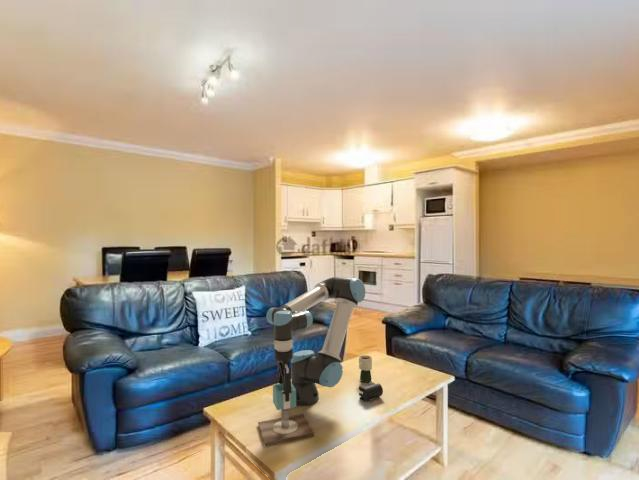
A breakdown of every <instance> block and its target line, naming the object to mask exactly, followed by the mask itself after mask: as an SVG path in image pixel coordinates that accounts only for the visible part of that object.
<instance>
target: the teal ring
mask: <svg viewBox="0 0 639 480" xmlns="http://www.w3.org/2000/svg"><path fill="white" fill-rule="evenodd" d="M291 391H292V393H290V408H289V409H291V408H296V407H297V405H296V389H295V387H294V386H293V384H292V383H291ZM282 392H284V388H283V383H282V384H280V383H277V384H275V383H274V384H272V402H273V405H274V407H275V409H276V411H279V410H280V411H281V410H282V409H283V394H282Z"/></svg>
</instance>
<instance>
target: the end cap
mask: <svg viewBox="0 0 639 480" xmlns="http://www.w3.org/2000/svg"><path fill="white" fill-rule="evenodd" d="M367 385H368V386H367ZM367 385H365V384H362V385H359V386H358V390H359V391H360V392H358V396H359V399H360V400H361V401H362V402H365V403H366V402H369V401H371V400H374V399H377V398H380V397H381V396H383V393H384V389H383V386H382V385H381V383H375V382H372V381H370V382H367Z"/></svg>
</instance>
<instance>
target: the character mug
mask: <svg viewBox="0 0 639 480" xmlns="http://www.w3.org/2000/svg"><path fill="white" fill-rule="evenodd" d="M358 364H359V365H358V368H359V370H360V375H359V380H360V381H361V382H367V383H370V382H372V374H371V370H372V369H373V358H372V356H371V355H366V354H364V355H360V356H359V357H358Z"/></svg>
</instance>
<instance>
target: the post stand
mask: <svg viewBox="0 0 639 480" xmlns="http://www.w3.org/2000/svg"><path fill="white" fill-rule="evenodd" d="M280 411H281V412H280V413H281V414H280V415H281V417H279V418H278V417H277V418H273V419H269V420H268V419H267V420H262V421H258V422H257V423H258V424H257V425H259V426H258V429H259V432H261V433H260V435H262V436H261V438H262V442H264V443H263V445H265V446H266V447H270V446H274V445H279V444H283V443H289V442H294V441H299V440H303V439H307V438H312V437H315V431H314V430H313V428H312V427H311V425H310V423H309V421H308V419H307V418H306V416H305V415H304V413H300V414H295V415H289V414H290V411H289V409H281V410H280ZM265 446H264V447H265Z"/></svg>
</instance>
